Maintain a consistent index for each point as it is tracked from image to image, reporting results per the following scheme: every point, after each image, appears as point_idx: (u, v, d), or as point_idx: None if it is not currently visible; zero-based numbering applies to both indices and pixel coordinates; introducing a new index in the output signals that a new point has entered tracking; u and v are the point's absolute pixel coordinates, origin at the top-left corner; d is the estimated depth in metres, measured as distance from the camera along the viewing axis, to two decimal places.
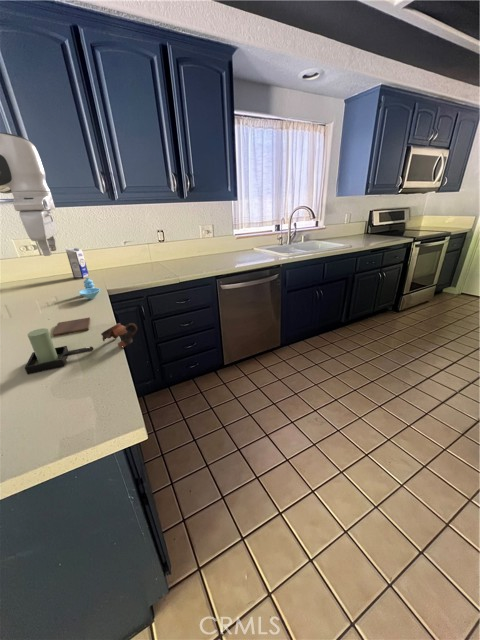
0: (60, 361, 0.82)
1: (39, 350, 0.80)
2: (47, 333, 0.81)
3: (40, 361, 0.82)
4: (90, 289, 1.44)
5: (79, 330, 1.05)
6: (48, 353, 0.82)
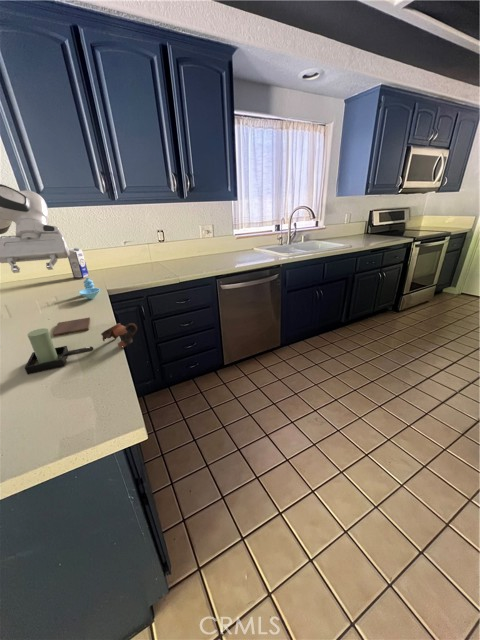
0: (60, 361, 0.82)
1: (39, 350, 0.80)
2: (47, 333, 0.81)
3: (40, 361, 0.82)
4: (90, 289, 1.44)
5: (79, 330, 1.05)
6: (48, 353, 0.82)
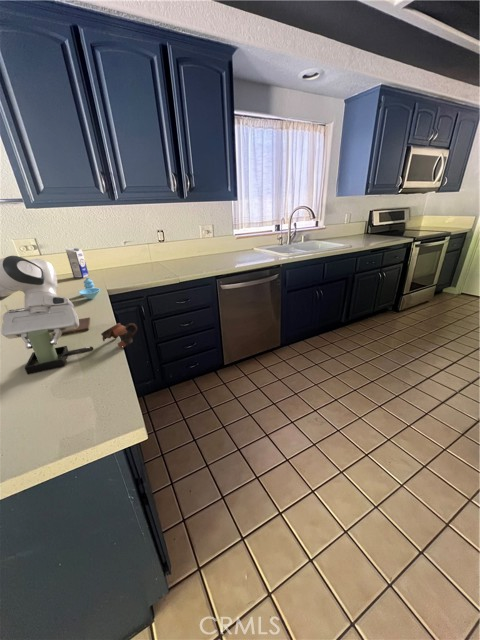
0: (60, 361, 0.82)
1: (39, 350, 0.80)
2: (47, 333, 0.81)
3: (40, 361, 0.82)
4: (90, 289, 1.44)
5: (79, 330, 1.05)
6: (48, 353, 0.82)
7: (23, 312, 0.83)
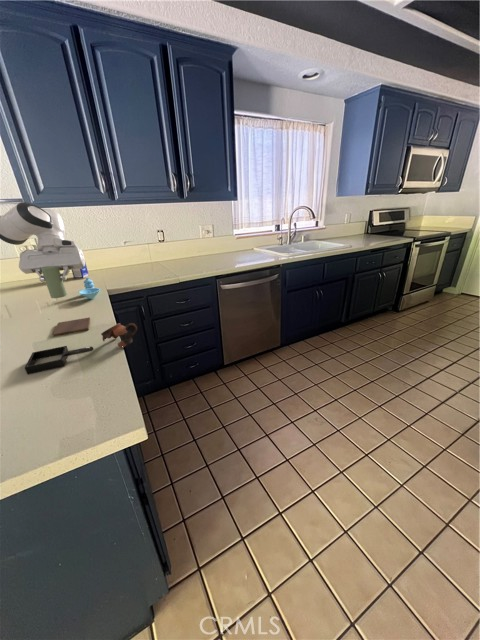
0: (60, 361, 0.82)
1: (51, 282, 0.94)
2: (57, 268, 0.95)
3: (51, 292, 0.96)
4: (90, 289, 1.44)
5: (79, 330, 1.05)
6: (58, 286, 0.96)
7: (37, 251, 0.97)
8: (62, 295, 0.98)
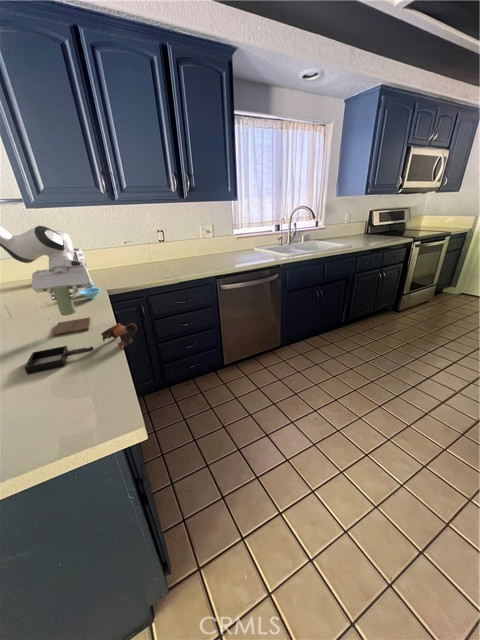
0: (60, 361, 0.82)
1: (61, 301, 1.01)
2: (67, 288, 1.02)
3: (61, 310, 1.03)
4: (90, 289, 1.44)
5: (79, 330, 1.05)
6: (68, 304, 1.03)
7: (48, 272, 1.04)
8: (71, 312, 1.05)
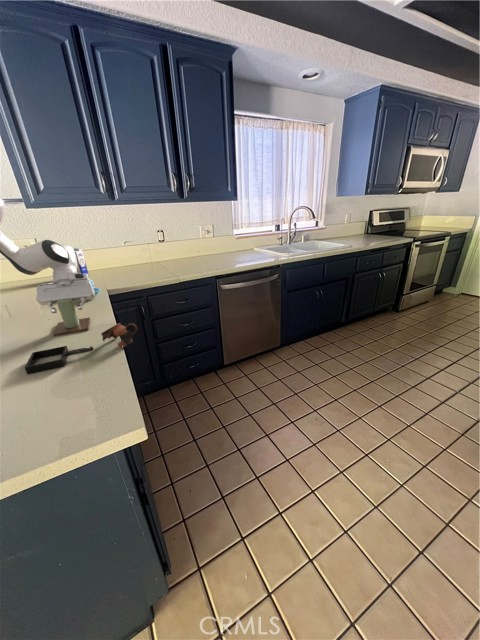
0: (60, 361, 0.82)
1: (65, 314, 1.04)
2: (71, 301, 1.04)
3: (66, 323, 1.05)
4: None
5: (79, 330, 1.05)
6: (72, 317, 1.05)
7: (52, 285, 1.06)
8: (75, 325, 1.07)
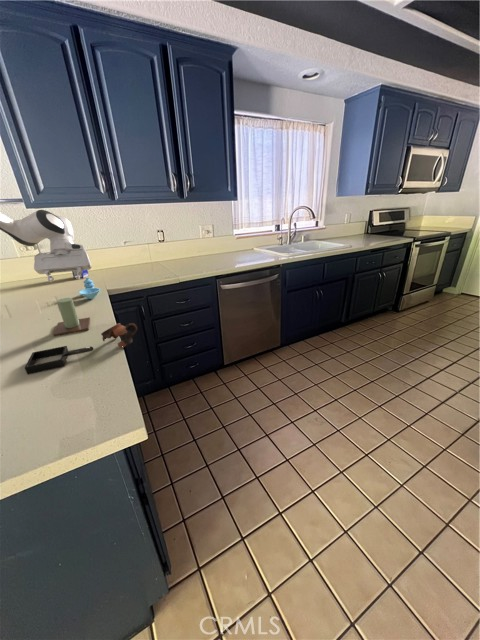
0: (60, 361, 0.82)
1: (65, 314, 1.04)
2: (71, 301, 1.04)
3: (66, 323, 1.05)
4: (90, 289, 1.44)
5: (79, 330, 1.05)
6: (72, 317, 1.05)
7: (49, 254, 1.09)
8: (75, 325, 1.07)
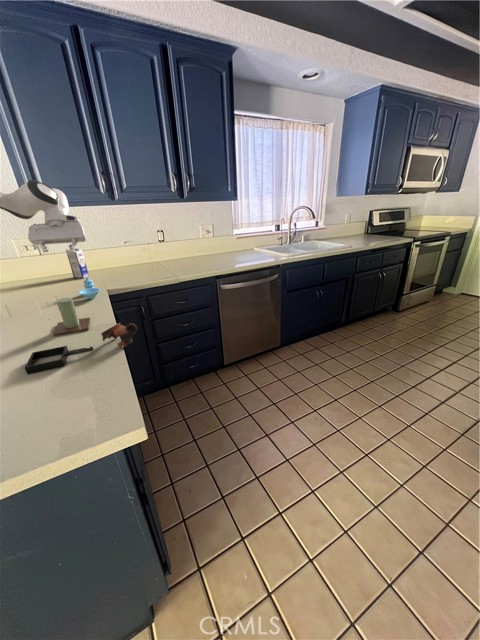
0: (60, 361, 0.82)
1: (65, 314, 1.04)
2: (71, 301, 1.04)
3: (66, 323, 1.05)
4: (90, 289, 1.44)
5: (79, 330, 1.05)
6: (72, 317, 1.05)
7: (44, 225, 1.08)
8: (75, 325, 1.07)
